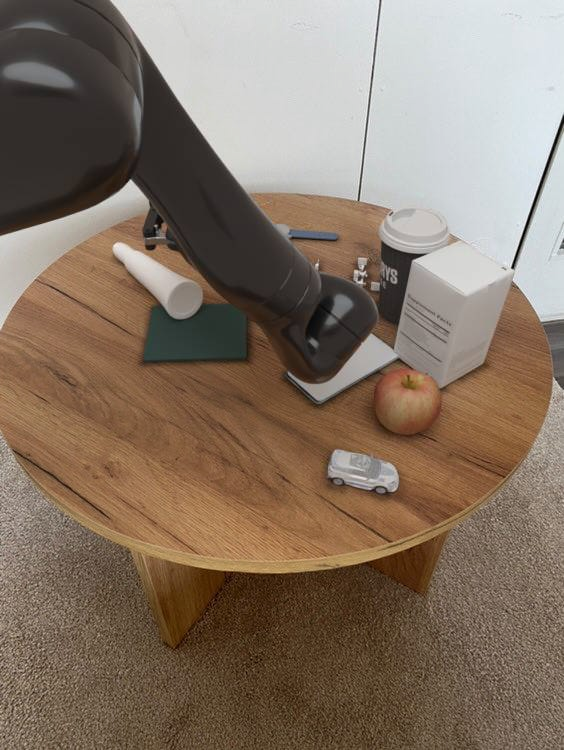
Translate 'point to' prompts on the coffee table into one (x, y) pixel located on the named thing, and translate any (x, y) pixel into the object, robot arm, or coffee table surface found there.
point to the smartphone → (350, 370)
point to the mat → (197, 335)
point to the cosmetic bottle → (162, 282)
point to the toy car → (362, 472)
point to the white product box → (451, 311)
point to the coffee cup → (406, 251)
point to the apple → (407, 401)
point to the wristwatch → (306, 233)
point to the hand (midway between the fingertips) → (154, 196)
